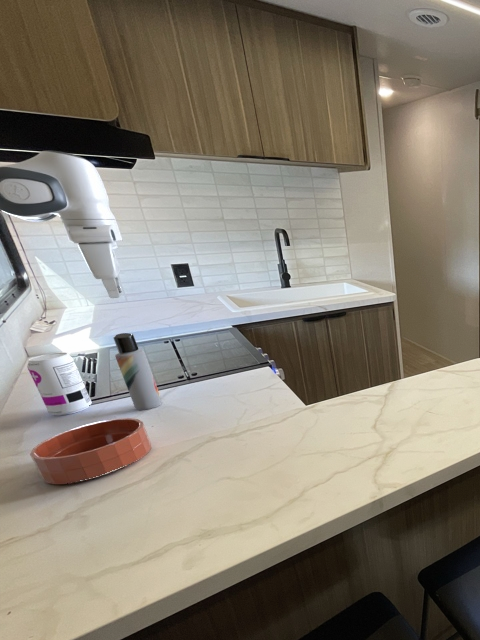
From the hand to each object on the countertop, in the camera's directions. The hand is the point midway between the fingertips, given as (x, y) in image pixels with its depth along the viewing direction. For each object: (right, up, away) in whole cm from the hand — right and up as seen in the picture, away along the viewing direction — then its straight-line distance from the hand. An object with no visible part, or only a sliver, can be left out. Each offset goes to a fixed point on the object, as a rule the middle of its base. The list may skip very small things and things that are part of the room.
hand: (116, 295), depth 95 cm
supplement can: (-24, -28, +12) cm, 39 cm away
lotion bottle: (-4, -27, +13) cm, 31 cm away
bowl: (+9, -37, -13) cm, 40 cm away
